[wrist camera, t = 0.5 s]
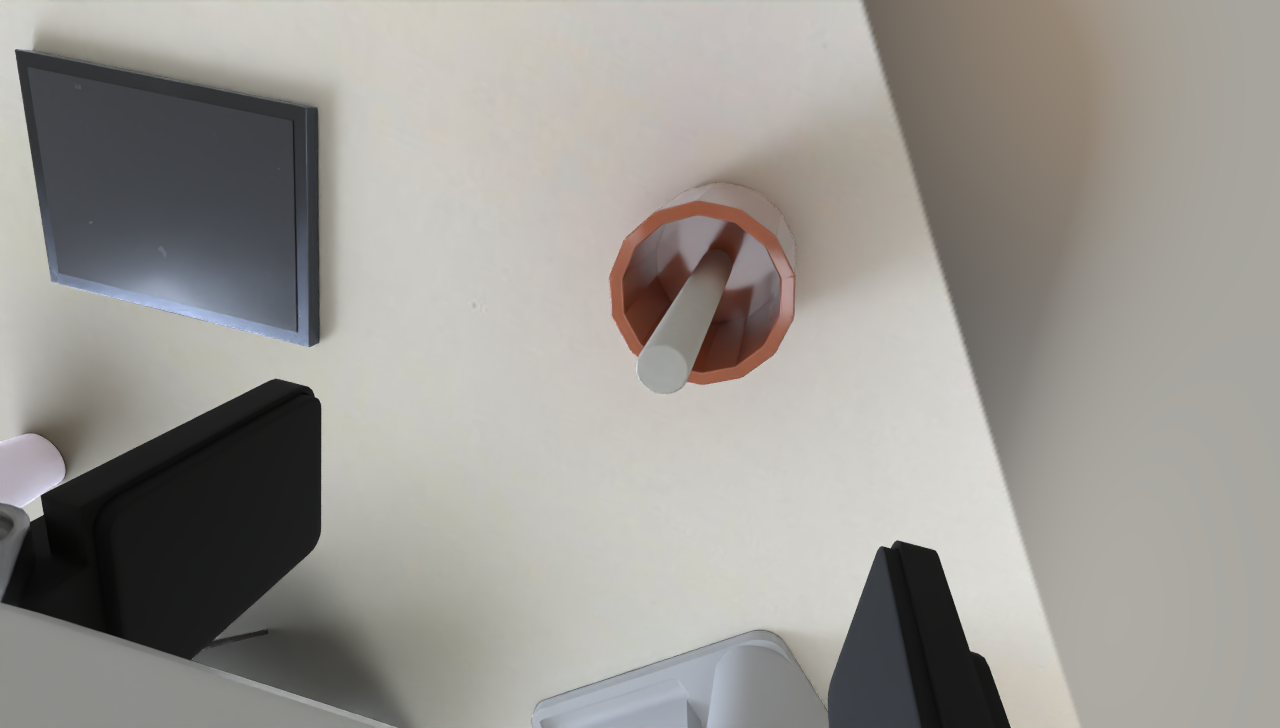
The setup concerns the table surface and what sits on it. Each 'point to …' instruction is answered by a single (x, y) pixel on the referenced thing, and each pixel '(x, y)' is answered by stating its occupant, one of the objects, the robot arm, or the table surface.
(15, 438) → the smoothie
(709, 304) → the stylus
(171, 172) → the tablet
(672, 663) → the phone holder
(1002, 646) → the table surface
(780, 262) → the pencil cup
